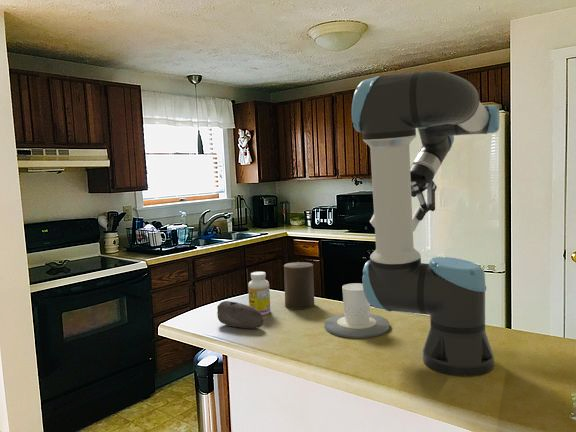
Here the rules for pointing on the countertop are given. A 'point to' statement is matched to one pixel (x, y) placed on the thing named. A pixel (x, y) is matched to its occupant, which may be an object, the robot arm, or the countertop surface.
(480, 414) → the countertop surface
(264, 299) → the supplement bottle
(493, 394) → the countertop surface
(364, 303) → the white cup
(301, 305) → the pillar candle
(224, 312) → the perforated stone tool
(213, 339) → the countertop surface
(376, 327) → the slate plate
